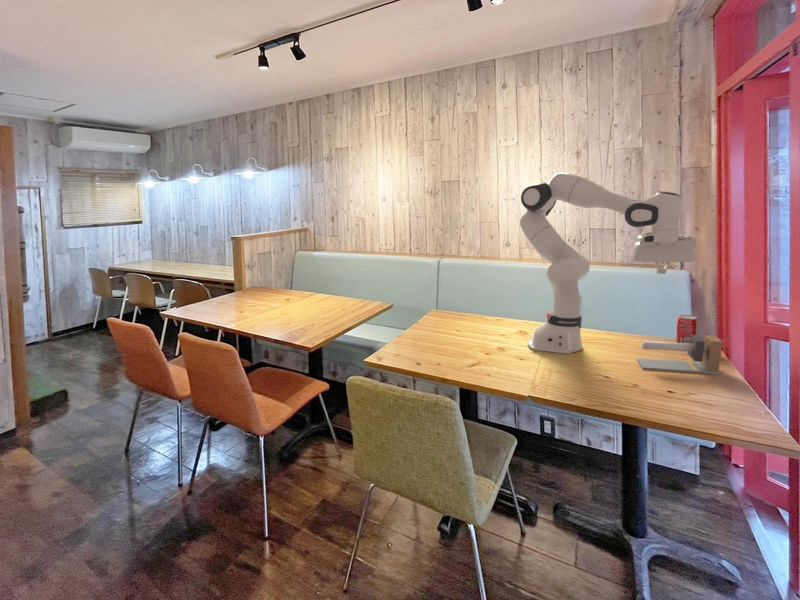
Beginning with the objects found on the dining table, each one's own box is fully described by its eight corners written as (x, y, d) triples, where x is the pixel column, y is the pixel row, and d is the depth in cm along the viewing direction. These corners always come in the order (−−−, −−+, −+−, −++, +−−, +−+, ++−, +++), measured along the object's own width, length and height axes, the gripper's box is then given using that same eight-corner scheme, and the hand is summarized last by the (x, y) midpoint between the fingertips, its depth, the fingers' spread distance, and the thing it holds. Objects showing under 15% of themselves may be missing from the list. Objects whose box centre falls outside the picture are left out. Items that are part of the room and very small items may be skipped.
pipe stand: (642, 369, 166) (645, 338, 163) (637, 360, 174) (640, 331, 171) (720, 374, 159) (724, 342, 156) (710, 365, 167) (715, 334, 164)
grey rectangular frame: (694, 361, 161) (696, 341, 159) (687, 353, 168) (690, 334, 166) (702, 361, 160) (705, 341, 158) (695, 354, 167) (697, 335, 165)
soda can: (698, 349, 183) (701, 319, 180) (678, 349, 184) (682, 319, 181) (690, 343, 190) (694, 314, 187) (672, 343, 191) (675, 314, 188)
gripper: (694, 235, 164) (689, 272, 168) (632, 236, 170) (629, 271, 173) (700, 237, 159) (695, 275, 162) (636, 237, 164) (633, 274, 168)
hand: (661, 273), depth 168 cm, fingers closed
